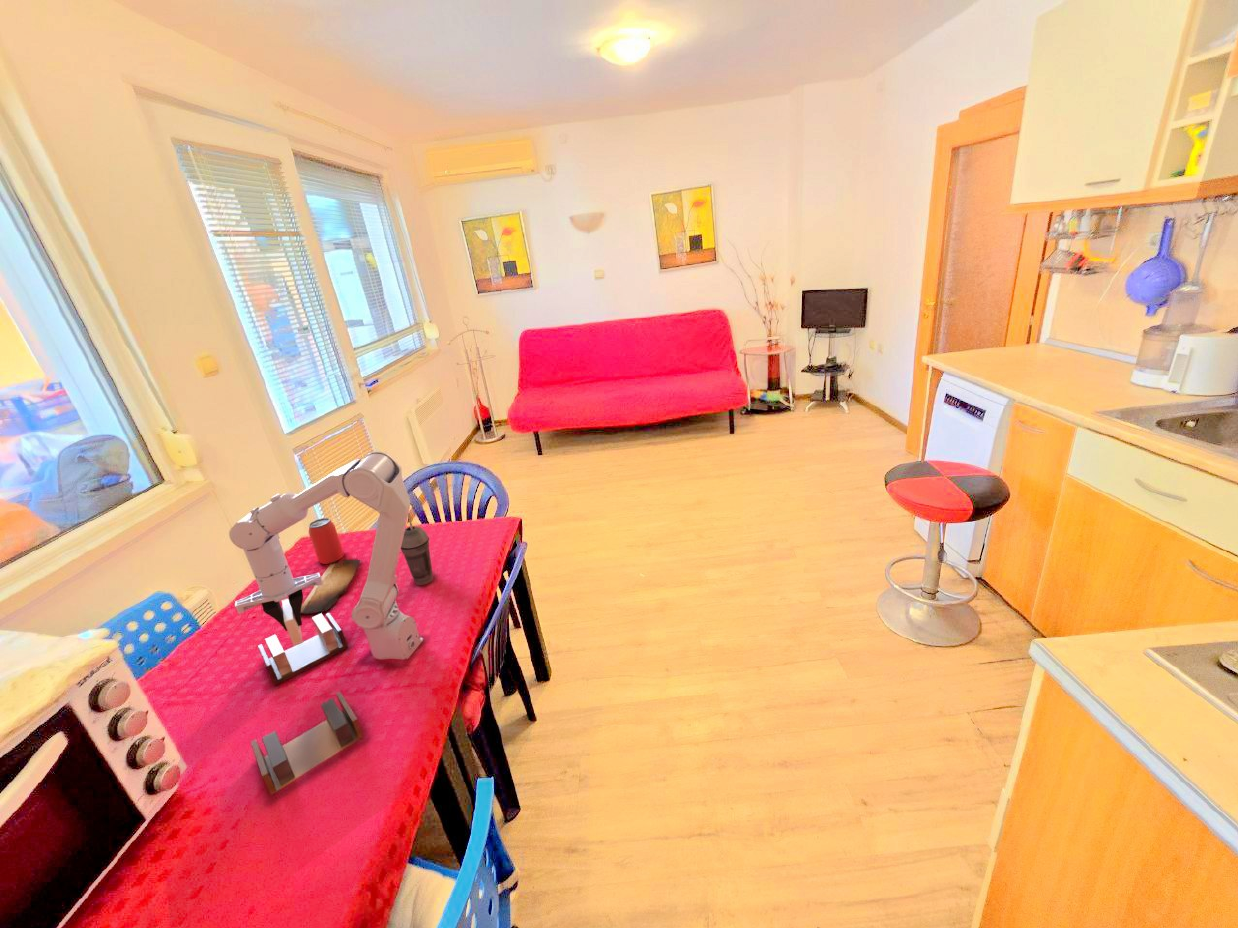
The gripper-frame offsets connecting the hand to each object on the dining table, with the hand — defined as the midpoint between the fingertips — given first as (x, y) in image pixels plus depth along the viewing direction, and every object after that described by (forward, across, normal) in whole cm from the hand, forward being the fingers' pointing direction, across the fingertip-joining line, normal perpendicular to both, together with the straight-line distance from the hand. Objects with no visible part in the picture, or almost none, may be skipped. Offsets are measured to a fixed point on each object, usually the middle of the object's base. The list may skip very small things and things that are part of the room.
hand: (293, 625), depth 104 cm
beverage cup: (+10, +28, +14) cm, 33 cm away
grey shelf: (+9, -1, -26) cm, 28 cm away
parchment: (+9, +8, +28) cm, 31 cm away
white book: (+2, 0, 0) cm, 2 cm away
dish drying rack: (+9, 0, +2) cm, 10 cm away
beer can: (+10, +10, +45) cm, 47 cm away
